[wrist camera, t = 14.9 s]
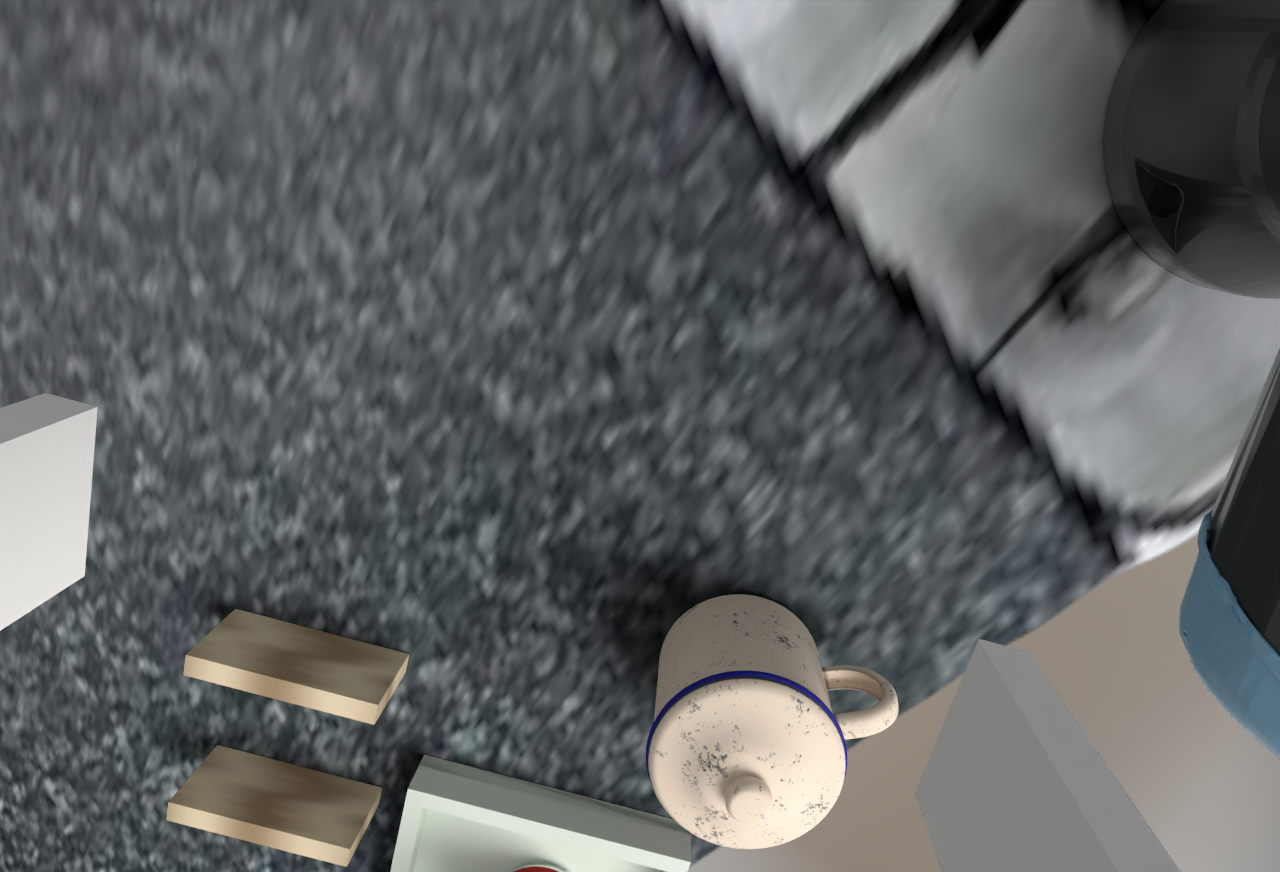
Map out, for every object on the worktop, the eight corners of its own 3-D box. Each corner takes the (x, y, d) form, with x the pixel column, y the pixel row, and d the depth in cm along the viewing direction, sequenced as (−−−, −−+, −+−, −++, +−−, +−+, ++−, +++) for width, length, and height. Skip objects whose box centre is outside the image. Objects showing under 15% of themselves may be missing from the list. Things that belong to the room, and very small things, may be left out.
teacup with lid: (672, 745, 50) (663, 907, 39) (640, 600, 48) (621, 730, 37) (886, 716, 49) (941, 875, 38) (864, 565, 46) (916, 689, 35)
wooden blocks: (409, 654, 50) (377, 704, 45) (379, 804, 53) (346, 866, 48) (235, 608, 50) (185, 654, 45) (215, 761, 53) (166, 820, 48)
